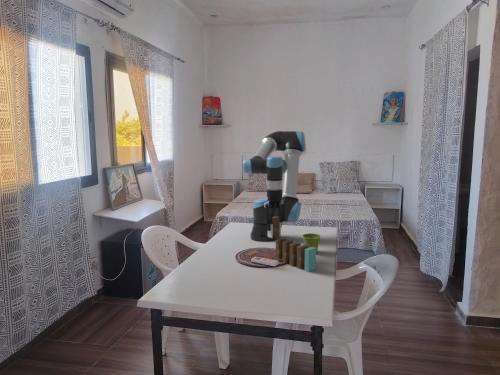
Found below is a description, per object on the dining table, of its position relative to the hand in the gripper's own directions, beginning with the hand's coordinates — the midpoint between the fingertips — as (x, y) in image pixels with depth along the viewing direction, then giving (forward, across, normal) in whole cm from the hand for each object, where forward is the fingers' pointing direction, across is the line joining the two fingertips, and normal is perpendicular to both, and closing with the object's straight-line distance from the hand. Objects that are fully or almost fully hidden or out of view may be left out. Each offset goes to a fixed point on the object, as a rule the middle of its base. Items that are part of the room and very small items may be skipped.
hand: (274, 235), depth 183 cm
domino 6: (+11, 0, -23) cm, 25 cm away
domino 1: (+1, 0, 0) cm, 1 cm away
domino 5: (+11, 0, -18) cm, 21 cm away
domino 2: (+11, 0, -4) cm, 12 cm away
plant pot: (+11, +19, -7) cm, 23 cm away
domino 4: (+11, 0, -14) cm, 17 cm away
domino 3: (+11, 0, -9) cm, 14 cm away
